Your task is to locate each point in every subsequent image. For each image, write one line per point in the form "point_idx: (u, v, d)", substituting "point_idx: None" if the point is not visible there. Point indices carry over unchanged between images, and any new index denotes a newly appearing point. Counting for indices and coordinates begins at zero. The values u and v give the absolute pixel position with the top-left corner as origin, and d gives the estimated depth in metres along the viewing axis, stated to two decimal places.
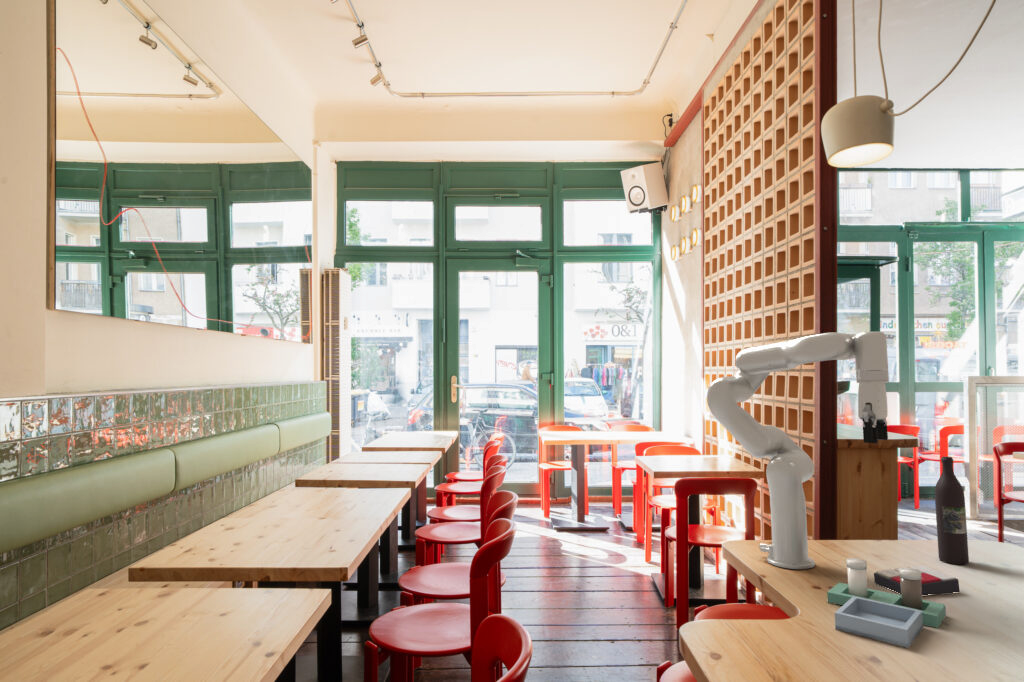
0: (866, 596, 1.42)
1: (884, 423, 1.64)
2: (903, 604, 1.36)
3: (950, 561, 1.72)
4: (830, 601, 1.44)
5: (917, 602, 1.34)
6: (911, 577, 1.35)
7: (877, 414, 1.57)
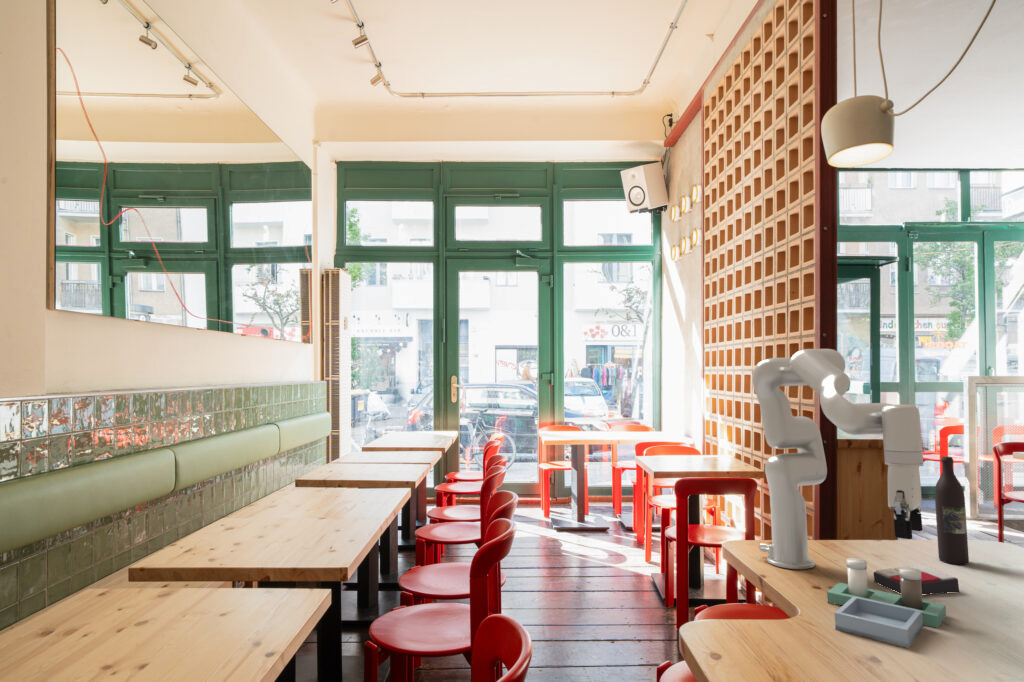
0: (866, 596, 1.42)
1: (918, 511, 1.40)
2: (903, 604, 1.36)
3: (950, 561, 1.72)
4: (830, 601, 1.44)
5: (917, 602, 1.34)
6: (911, 577, 1.35)
7: (911, 505, 1.33)
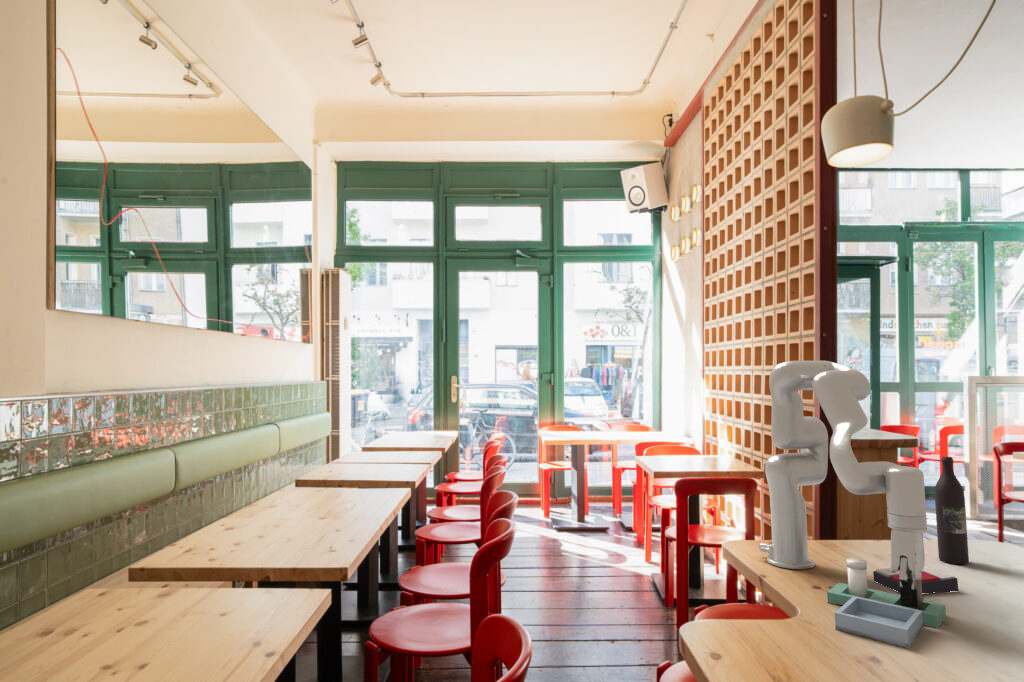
0: (866, 596, 1.42)
1: None
2: None
3: (950, 561, 1.72)
4: (830, 601, 1.44)
5: None
6: None
7: (914, 571, 1.32)
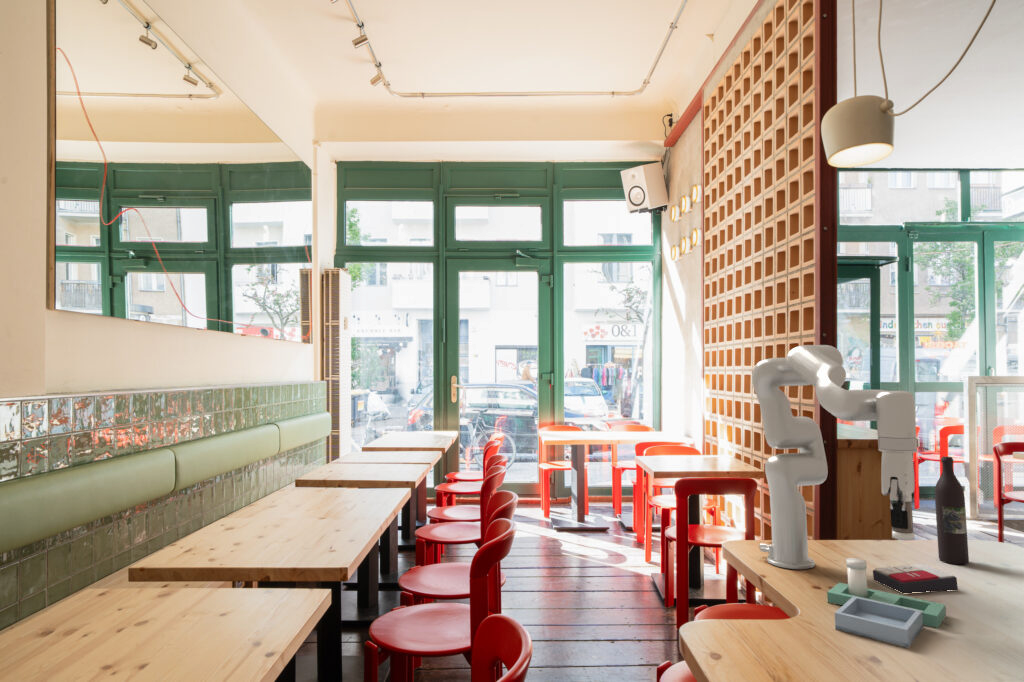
0: (866, 596, 1.42)
1: None
2: None
3: (950, 561, 1.72)
4: (830, 601, 1.44)
5: (908, 523, 1.34)
6: None
7: (904, 491, 1.32)
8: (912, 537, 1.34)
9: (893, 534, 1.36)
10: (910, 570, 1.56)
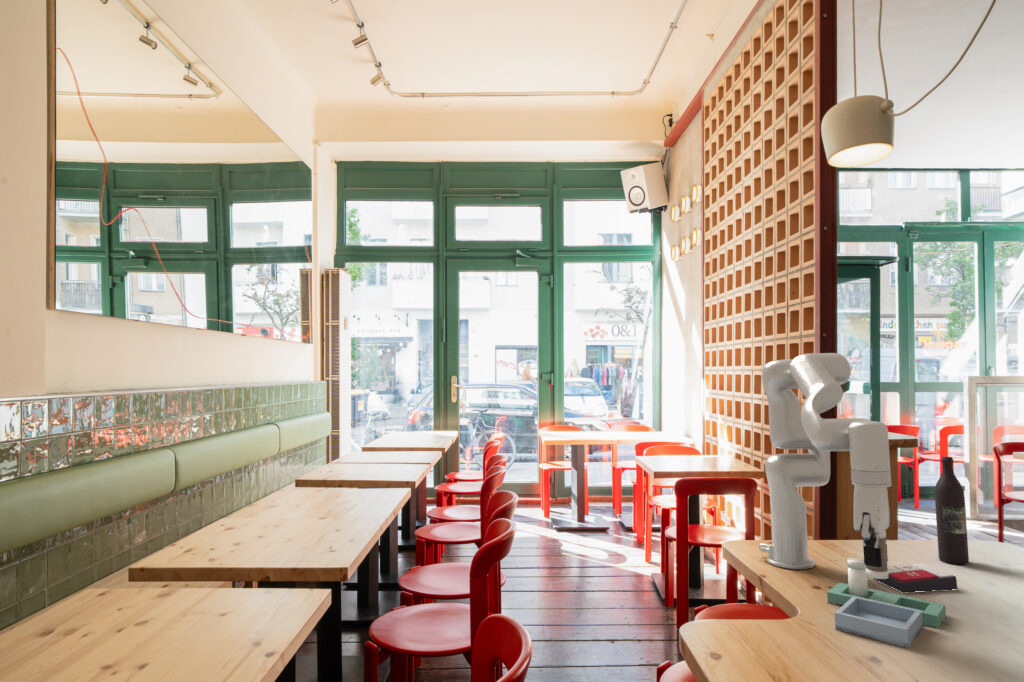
0: (866, 596, 1.42)
1: None
2: None
3: (950, 561, 1.72)
4: (830, 601, 1.44)
5: (882, 561, 1.28)
6: None
7: (877, 528, 1.26)
8: (886, 575, 1.28)
9: (866, 572, 1.30)
10: (910, 569, 1.57)
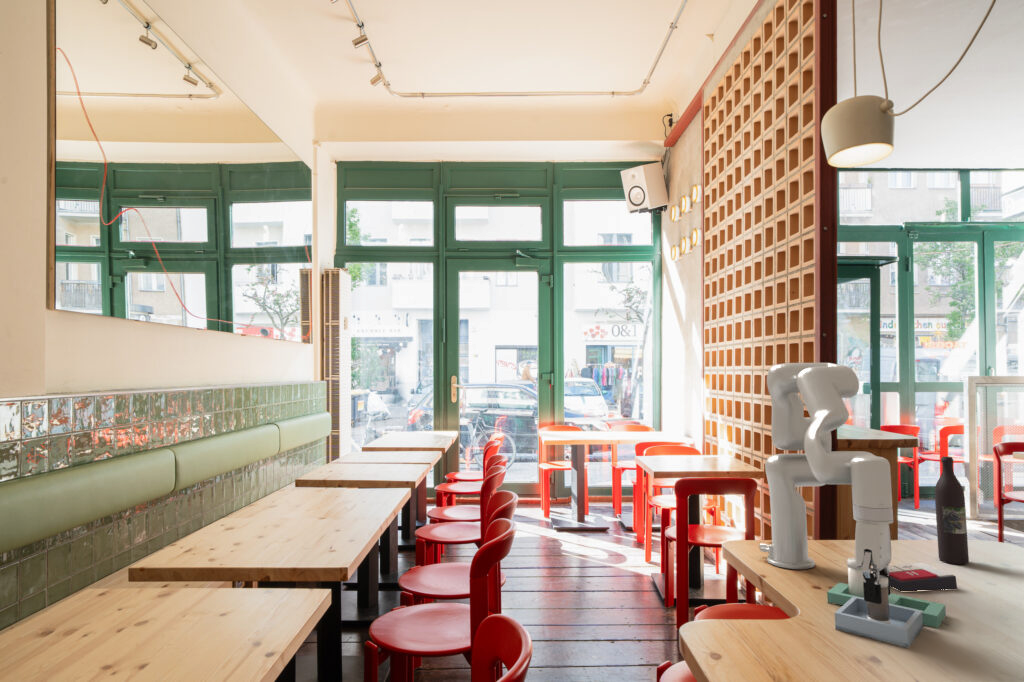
0: None
1: (886, 573, 1.32)
2: (869, 613, 1.30)
3: (950, 561, 1.72)
4: (830, 601, 1.44)
5: (884, 610, 1.28)
6: None
7: (879, 565, 1.26)
8: None
9: None
10: (910, 569, 1.57)
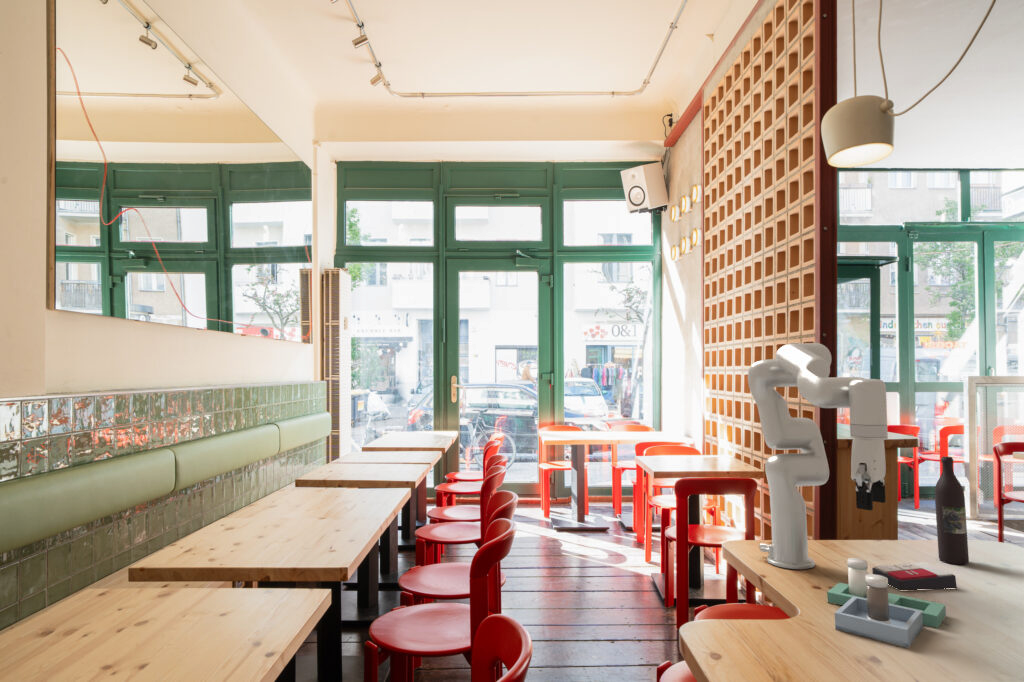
0: (866, 596, 1.42)
1: (882, 483, 1.43)
2: (869, 613, 1.30)
3: (950, 561, 1.72)
4: (830, 601, 1.44)
5: (884, 610, 1.28)
6: (877, 585, 1.28)
7: (873, 477, 1.35)
8: None
9: None
10: (909, 568, 1.58)
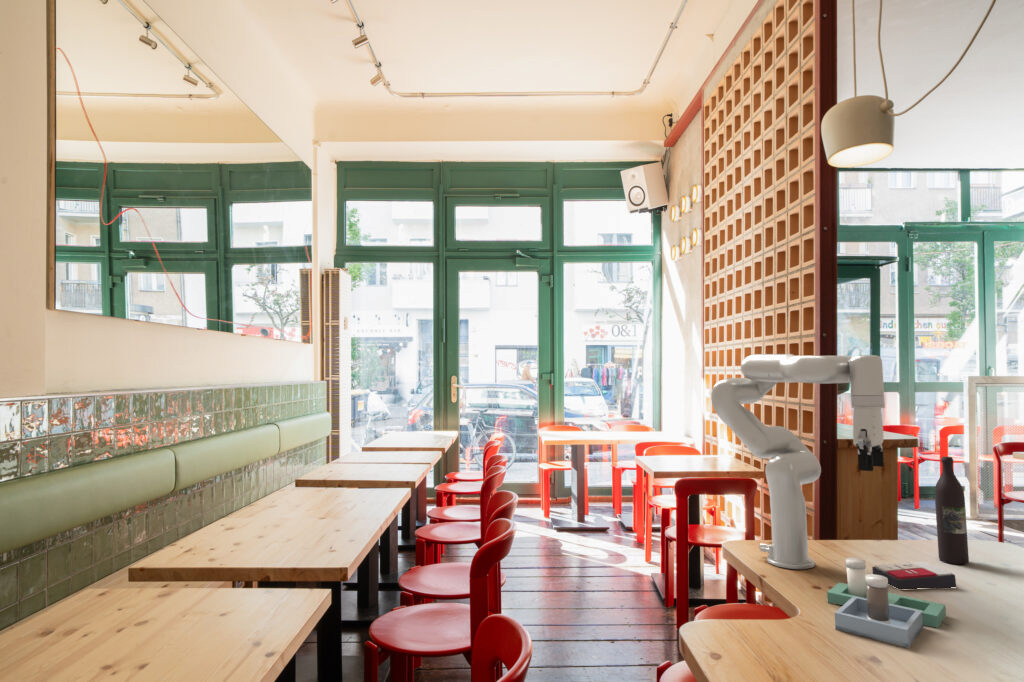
0: (865, 596, 1.42)
1: (880, 449, 1.59)
2: (869, 613, 1.30)
3: (950, 561, 1.72)
4: (830, 601, 1.44)
5: (884, 610, 1.28)
6: (877, 585, 1.28)
7: (872, 441, 1.52)
8: None
9: None
10: (909, 567, 1.59)
